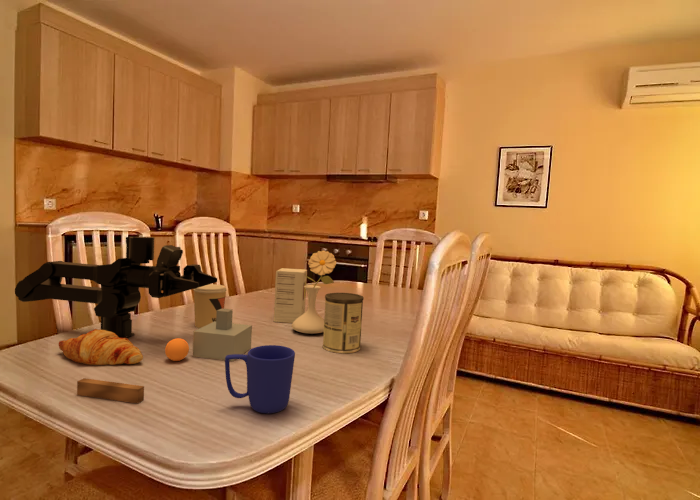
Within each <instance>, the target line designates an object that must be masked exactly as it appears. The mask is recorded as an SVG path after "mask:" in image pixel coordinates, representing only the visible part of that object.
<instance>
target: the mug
mask: <svg viewBox="0 0 700 500" xmlns="http://www.w3.org/2000/svg"><path fill="white" fill-rule="evenodd" d="M295 357H296V352H295V350H293V348H290V347H288V346H284V345H276V344H275V345H274V344H269V345H259V346H256V347H251V349H249V350H248V351H247V354H232V355H227V356H226V357H225V360H224V367H225V368H224V369H225V371H224V372H225V380H226V385H227V386H226V388H227V390H228V392H229V394H230V395H231V397H233V398H235V399H243V398H245V397H248V400H249V401H248V402H249V405H250V407H251V408H252V410H254V411H256V412H257V413H260V414H275V413H279V412H282V411H283V410H284V409H286V407H287V406H288V404H289V400H290V395H291V390H292V389H291V388H292V381H293V371H294V364H295ZM230 359H236V360H240V361H241V360H242V361H243V362H245V366H246V392H245V393H244V392H243V393H239V392H237V391H236V390H235V388H234V387H233V383H232V380H231V372H230V371H231V369H230V366H231V365H230V361H229V360H230Z"/></svg>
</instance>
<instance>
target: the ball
mask: <svg viewBox="0 0 700 500" xmlns="http://www.w3.org/2000/svg"><path fill="white" fill-rule="evenodd" d="M189 351H190V346H189V343H188V342H187V341H186V340H185V339H183V338H180V337H179V338H178V337H177V338H173V339H171V340H170V341H168V342H167V343H166V346H165V348H164V353H165V356H166V358H167V359H169V360H171V361H174V362H178V361H181V360H184V359H185V358H186V357H187V355H188V354H189Z"/></svg>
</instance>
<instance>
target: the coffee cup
mask: <svg viewBox="0 0 700 500" xmlns="http://www.w3.org/2000/svg"><path fill="white" fill-rule="evenodd" d="M192 290H193V307H194V310H193V311H194V326H195V328H196V329H200V328H202V327H204V326H206V325H208V324H210V323H212V322H214V321H215V322H216V314H217V310H219V309H222V308H223V309H225V303H226V293H227V288H226V286H225V285H223V284H215V283H212V284H209V285H205V286H202V287H199V288H195V289H192Z"/></svg>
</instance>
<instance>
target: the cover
mask: <svg viewBox="0 0 700 500" xmlns="http://www.w3.org/2000/svg"><path fill="white" fill-rule="evenodd" d="M233 313H234V310H233V309H231V308H224V309H223V308H222V309H219V310H217V314H216V322H215V321H214V322H212V323H210V324H208V325H206V326H204V327H202V328H200V329H199V328H197V329H195V330H194V331H193V333H192V335H193V336H192V337H193V338H192V339H193V340H192V357H195V358H202V359H208V360H209V359H211V360H220V361H225V357H226V356H227V355H232V354H243V355H245V354H246V353H248V351H249V350H251V349H252V338H253V337H252V333H253V332H252V331H253V325H251V324H243V323H242V324H241V323H233ZM236 360H237V359H230V360H229V362H235V361H236Z"/></svg>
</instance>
